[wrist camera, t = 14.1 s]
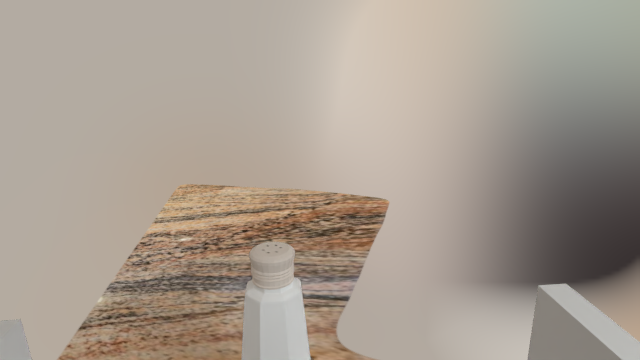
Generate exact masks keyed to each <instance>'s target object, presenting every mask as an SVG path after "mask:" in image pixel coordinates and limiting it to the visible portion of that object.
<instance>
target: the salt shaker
mask: <svg viewBox="0 0 640 360" xmlns="http://www.w3.org/2000/svg"><path fill="white" fill-rule="evenodd" d="M294 257H295V250H294V249H293V247H292V246H290V245H289V244H286V243H282V242H266V243H262V244H259V245H257V246H255V247H254V248H252V250H251V251H250V253H249V258H250V261H251V263H252V265H251V274H252V276H253V278H252V280H250V281H249V282H248V283H247V287H246V292H245V302H244V320H243V341H242V360H311V358H310V350H309V342H308V334H307V326H306V319H305V311H304V303H303V295H302V288H301V283H300V280H299V279H297V278H295V277H294V275H293V273H294V262H293V260H294Z"/></svg>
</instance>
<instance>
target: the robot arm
mask: <svg viewBox="0 0 640 360" xmlns="http://www.w3.org/2000/svg"><path fill="white" fill-rule="evenodd" d="M0 360H32V358H31V355H30V351H29V347H28V344H27V340H26V336H25V333H24V329H23V326H22V322H21V320H4V321H0ZM528 360H640V342H639V341H638V340H636V339H635V338H634V337H633V336H631V335H630V334H629V333H628V332H626V331H625V330H624V329H623V328H621V327H620V326H619V325H618V324H616V323H615V322H614V321H612V320H611V319H610V318H609V317H607V316H606V315H605V314H604V313H602V312H601V311H600V310H598V309H597V308H596V307H595V306H594V305H592V304H591V303H590V302H588V301H587V300H586V299H585V298H583V297H582V296H581V295H579V294H578V293H577V292H576V291H575V290H573V289H572V288H571V287H570V286H568V285H567V284H555V285H539V286H538V291H537V299H536V305H535V312H534V319H533V327H532V333H531V340H530V348H529V354H528Z"/></svg>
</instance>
